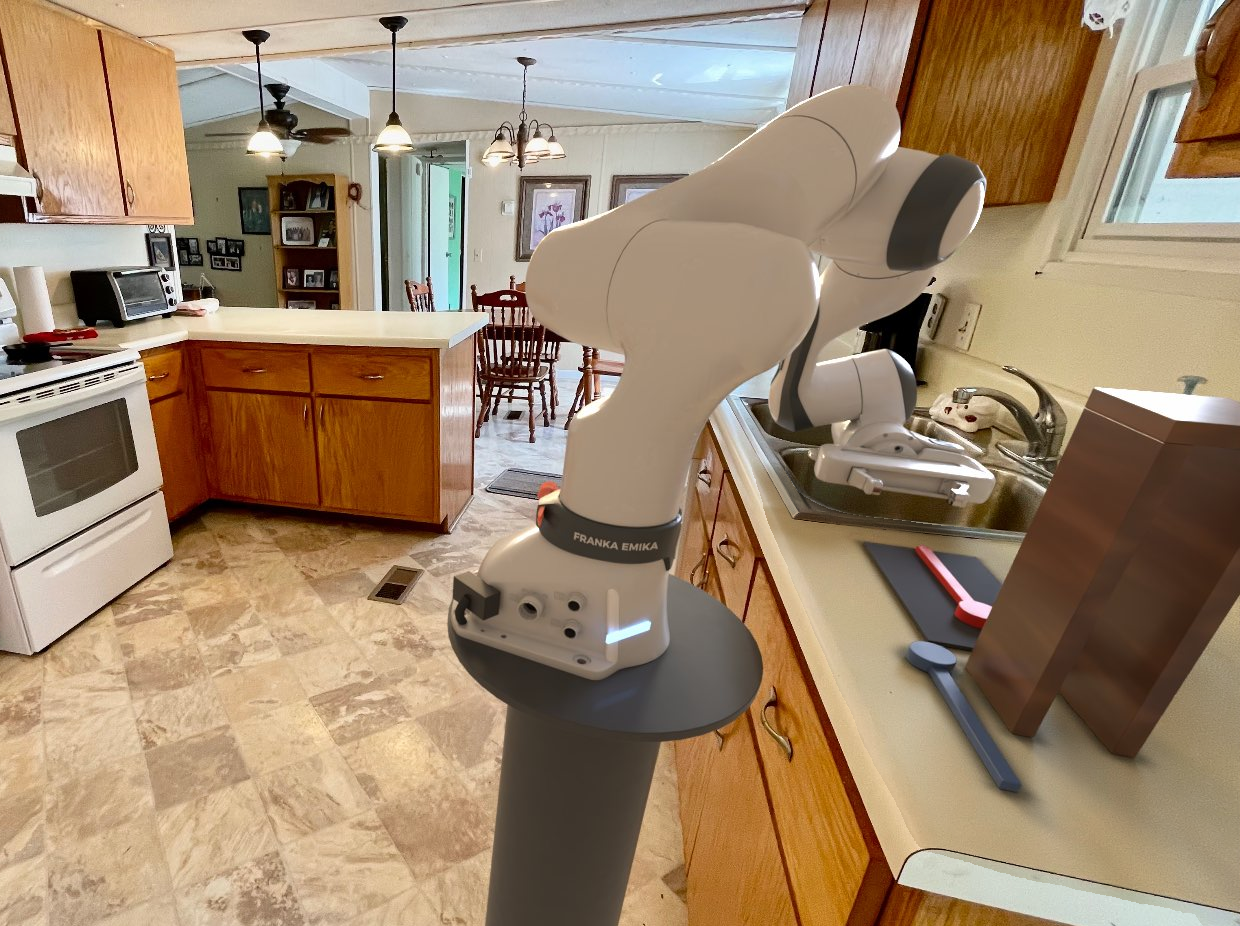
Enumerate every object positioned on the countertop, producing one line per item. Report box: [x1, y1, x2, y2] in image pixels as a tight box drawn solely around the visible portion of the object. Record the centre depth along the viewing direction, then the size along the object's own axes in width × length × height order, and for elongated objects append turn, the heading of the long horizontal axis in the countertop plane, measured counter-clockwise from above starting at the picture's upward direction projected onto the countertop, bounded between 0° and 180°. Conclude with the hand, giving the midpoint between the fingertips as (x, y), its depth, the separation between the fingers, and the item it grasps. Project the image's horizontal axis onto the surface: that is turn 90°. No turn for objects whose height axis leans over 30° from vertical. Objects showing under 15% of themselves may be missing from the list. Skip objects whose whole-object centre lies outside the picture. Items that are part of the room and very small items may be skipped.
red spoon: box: [914, 544, 992, 629], centre depth 72 cm, size 17×4×1 cm, turn 163°
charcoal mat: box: [862, 541, 1003, 652], centre depth 71 cm, size 12×22×1 cm, turn 163°
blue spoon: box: [905, 640, 1023, 793], centre depth 55 cm, size 17×4×1 cm, turn 162°
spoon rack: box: [964, 387, 1240, 759], centre depth 50 cm, size 8×9×26 cm
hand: (917, 495), depth 83 cm, fingers open, 8 cm apart
